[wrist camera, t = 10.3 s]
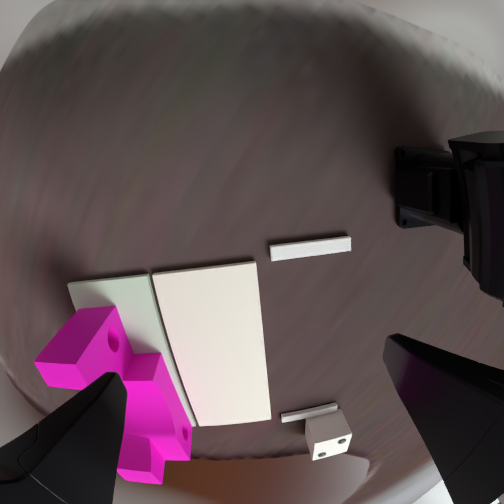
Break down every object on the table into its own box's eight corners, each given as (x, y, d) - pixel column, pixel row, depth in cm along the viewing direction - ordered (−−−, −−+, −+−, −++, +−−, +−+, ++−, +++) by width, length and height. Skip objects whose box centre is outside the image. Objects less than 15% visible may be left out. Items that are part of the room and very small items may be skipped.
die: (340, 408, 25) (352, 434, 21) (336, 427, 26) (346, 451, 23) (305, 416, 25) (315, 444, 21) (304, 435, 26) (312, 461, 22)
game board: (348, 235, 20) (350, 237, 19) (335, 407, 25) (336, 410, 25) (66, 270, 18) (63, 273, 18) (135, 426, 24) (134, 430, 23)
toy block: (192, 426, 23) (188, 485, 16) (138, 426, 23) (125, 480, 16) (144, 302, 19) (111, 365, 12) (79, 308, 19) (33, 361, 11)
